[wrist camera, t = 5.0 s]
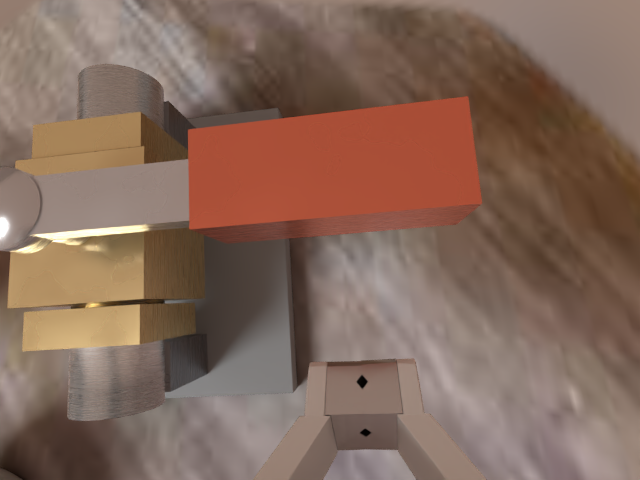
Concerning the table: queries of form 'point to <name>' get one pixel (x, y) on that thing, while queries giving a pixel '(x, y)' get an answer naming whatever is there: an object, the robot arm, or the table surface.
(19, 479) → the pipe fitting
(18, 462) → the table surface
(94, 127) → the pipe and valve
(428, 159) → the valve lever
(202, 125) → the slate plate
